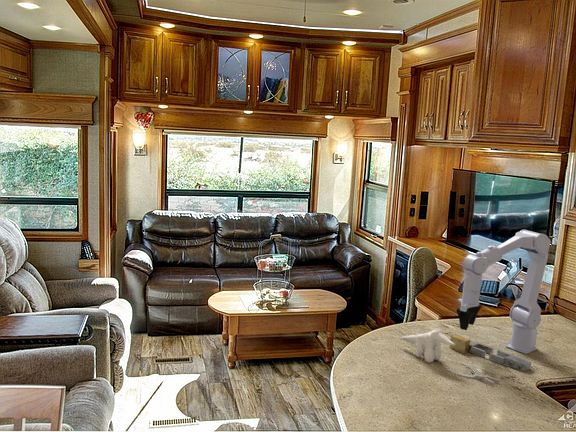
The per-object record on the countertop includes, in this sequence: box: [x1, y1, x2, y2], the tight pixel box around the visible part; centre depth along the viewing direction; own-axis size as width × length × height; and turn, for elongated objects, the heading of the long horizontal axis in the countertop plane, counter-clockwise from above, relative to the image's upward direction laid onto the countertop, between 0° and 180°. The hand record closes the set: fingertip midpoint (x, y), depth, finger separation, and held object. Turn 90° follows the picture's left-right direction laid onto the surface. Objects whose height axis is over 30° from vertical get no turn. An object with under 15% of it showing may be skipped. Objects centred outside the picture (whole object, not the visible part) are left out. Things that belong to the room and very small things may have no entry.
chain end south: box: [469, 339, 494, 358], centre depth 188 cm, size 6×12×2 cm, turn 40°
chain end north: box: [488, 349, 533, 373], centre depth 177 cm, size 6×12×2 cm, turn 40°
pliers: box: [445, 362, 499, 387], centre depth 166 cm, size 10×2×15 cm
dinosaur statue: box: [397, 328, 455, 363], centre depth 177 cm, size 7×24×11 cm, turn 36°
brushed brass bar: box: [449, 334, 471, 354], centre depth 187 cm, size 3×6×4 cm, turn 41°
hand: (466, 326), depth 183 cm, fingers open, 7 cm apart
